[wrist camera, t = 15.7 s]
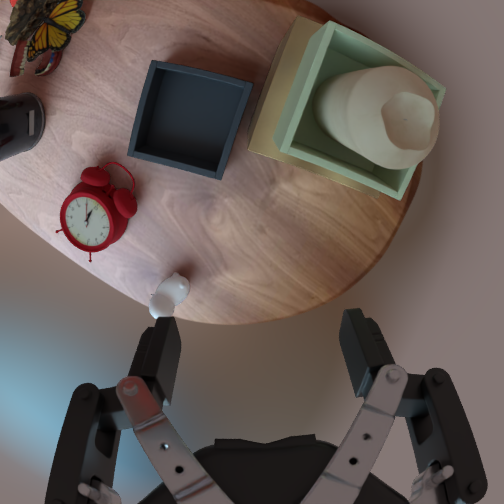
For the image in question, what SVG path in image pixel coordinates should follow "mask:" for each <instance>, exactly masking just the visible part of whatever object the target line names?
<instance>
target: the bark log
mask: <svg viewBox="0 0 504 504" xmlns="http://www.w3.org/2000/svg"><path fill="white" fill-rule="evenodd" d="M59 1H60V0H17V1H16V4H15V6H14V7H13V10H12V13H11V16H10V20H11V21H10V24H9V26H8V27H7V30H6V32H5V33H6V35H5V40H6V39H7V40H8V41H9V43H10V44H11V45H12V46H14V45H17V42H18V40H25V41H26V40H27V38H29V36H30V34H32V33H33V32H34V30H35V29H37V27H38V25H39V24H41V23H42V22H43V21H42V19H40V18H43V17H45V16H48V14H49V11H50V12H51V10H52V9H53V8H54V7H55V6H56V5H57V3H58V2H59ZM34 5H35V6H36V7H35V6H34ZM37 9H38V10H39V11H38V10H37ZM48 9H49V10H48ZM41 14H42V15H43V16H42V15H41ZM34 27H36V28H34Z"/></svg>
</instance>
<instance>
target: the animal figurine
mask: <svg viewBox="0 0 504 504" xmlns="http://www.w3.org/2000/svg"><path fill="white" fill-rule="evenodd" d="M16 1H17V0H10V3H11V5H12V7H14V6H15V4H16Z"/></svg>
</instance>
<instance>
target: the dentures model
mask: <svg viewBox="0 0 504 504" xmlns="http://www.w3.org/2000/svg"><path fill="white" fill-rule="evenodd" d="M29 43H30V41H25V40H18V42H17V45H16V49H15V52H14V56H13V60H12V65H11V70H10V77H16V76H19V75H23V74H24V65H25V61H26V58H24V57H27V49H28V46H29ZM61 56H62V50H60V51H57V52H55V51H52V50H50V49H49V50H48V51H46V52H45V53H43V59H42V62H41V64H40V65H39V67H38V68H37V69H36V70H35V75H37V76H45V75H48V74H50V73H51V72H53V71H54V70H55V69H56V67H57V66H58V64H59V62H60V60H61Z"/></svg>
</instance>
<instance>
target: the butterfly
mask: <svg viewBox="0 0 504 504" xmlns="http://www.w3.org/2000/svg"><path fill="white" fill-rule="evenodd" d="M82 3H83V0H60V1H59V2H58V3H57V5H56V6H55V7H54V8H53V10H52V11H51V13H50V11H49V13H50V15H49V16H48V17H47V18H46V16H45V17H43V18H40V19H42V21H44V23H43V24H42V25H41V26H38V27H39V28H38V29H37V31H36V32H35V33H34V35H33V37H32V39H31V41H30V43H29V46H28V49H27V61H28V62H32V61H34V60H35V59H36V58H37V57H38V56H39V55H41V54H43V53H45V52H46V51H48V50H49V49H50V50H52V51H55V52H57V51H60V50H63V49H64V48H65V47H66V46H67V45H68V43H69V42H70V40H71V36H70V35H69V34H70V33H75V32H77V31H78V30H79V29H80V28H81V27H82V25H83V24H84V21H85V16H86V15H85V13H84V12H83V11H82V10H78V9H80V8H81V6H82ZM34 6H35V5H34ZM35 7H36V6H35ZM37 10H38V9H37ZM48 10H49V9H48ZM38 11H39V10H38ZM41 15H42V14H41ZM42 16H43V15H42ZM34 28H36V27H34Z"/></svg>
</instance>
